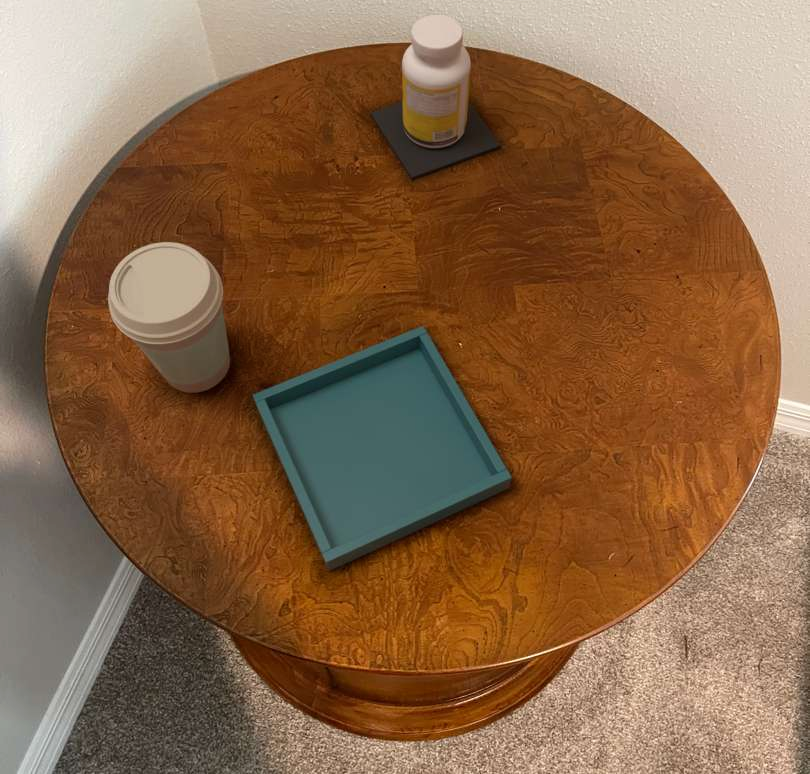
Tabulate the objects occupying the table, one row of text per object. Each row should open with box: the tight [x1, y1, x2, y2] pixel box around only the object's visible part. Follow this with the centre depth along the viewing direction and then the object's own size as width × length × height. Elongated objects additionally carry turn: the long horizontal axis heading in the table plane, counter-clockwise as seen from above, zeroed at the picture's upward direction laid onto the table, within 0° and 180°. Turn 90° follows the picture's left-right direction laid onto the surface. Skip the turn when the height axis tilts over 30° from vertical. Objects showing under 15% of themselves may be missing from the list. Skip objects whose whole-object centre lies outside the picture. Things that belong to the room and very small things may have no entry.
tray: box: [252, 325, 512, 572], centre depth 66 cm, size 16×16×2 cm
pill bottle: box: [401, 14, 472, 148], centre depth 79 cm, size 6×6×12 cm
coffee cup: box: [107, 241, 231, 394], centre depth 66 cm, size 8×8×12 cm
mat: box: [369, 100, 501, 181], centre depth 85 cm, size 10×10×1 cm
